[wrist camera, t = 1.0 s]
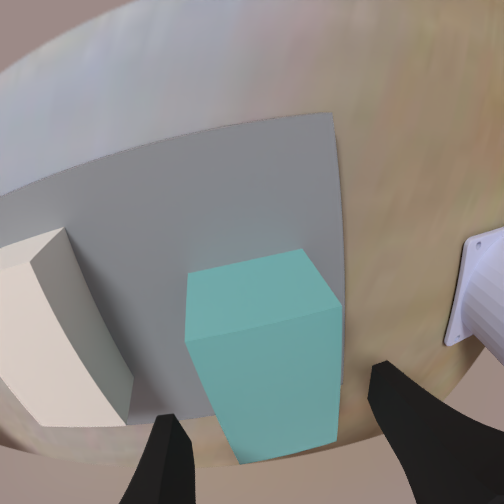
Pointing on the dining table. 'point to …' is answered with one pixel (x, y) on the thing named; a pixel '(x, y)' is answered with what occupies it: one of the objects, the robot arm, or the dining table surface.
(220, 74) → the dining table surface
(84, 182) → the baseplate
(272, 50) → the dining table surface
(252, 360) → the teal brick
